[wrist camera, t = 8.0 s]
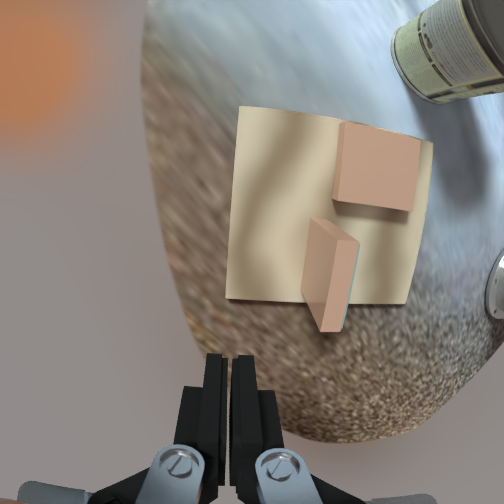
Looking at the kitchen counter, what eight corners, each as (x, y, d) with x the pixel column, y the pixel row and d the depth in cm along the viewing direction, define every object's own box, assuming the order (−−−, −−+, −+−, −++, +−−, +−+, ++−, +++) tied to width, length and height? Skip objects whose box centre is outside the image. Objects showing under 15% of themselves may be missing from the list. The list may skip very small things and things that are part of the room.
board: (427, 143, 26) (433, 143, 24) (400, 299, 31) (405, 303, 30) (239, 108, 24) (239, 105, 23) (225, 293, 30) (225, 298, 28)
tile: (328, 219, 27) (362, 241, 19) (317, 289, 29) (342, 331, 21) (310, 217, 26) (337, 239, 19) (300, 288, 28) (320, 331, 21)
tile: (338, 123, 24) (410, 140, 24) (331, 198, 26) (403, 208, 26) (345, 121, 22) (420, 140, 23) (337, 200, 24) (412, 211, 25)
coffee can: (417, 13, 21) (488, -32, 7) (470, 78, 23) (551, 63, 10) (371, 47, 23) (449, -8, 9) (432, 121, 25) (529, 113, 11)
